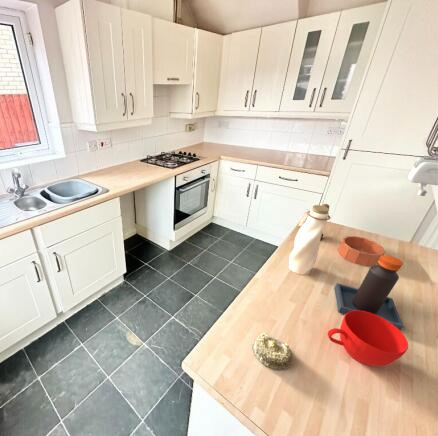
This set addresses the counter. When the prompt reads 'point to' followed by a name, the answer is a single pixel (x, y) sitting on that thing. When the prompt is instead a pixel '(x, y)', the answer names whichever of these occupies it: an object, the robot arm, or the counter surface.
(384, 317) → the tray
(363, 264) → the bowl
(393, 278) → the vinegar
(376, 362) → the ceramic cup
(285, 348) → the seeded bagel
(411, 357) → the counter surface
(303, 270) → the water bottle
